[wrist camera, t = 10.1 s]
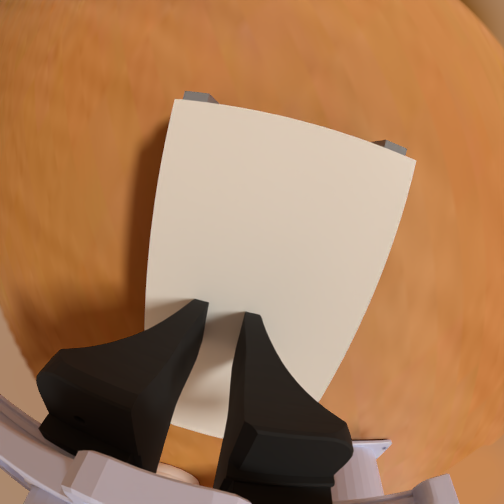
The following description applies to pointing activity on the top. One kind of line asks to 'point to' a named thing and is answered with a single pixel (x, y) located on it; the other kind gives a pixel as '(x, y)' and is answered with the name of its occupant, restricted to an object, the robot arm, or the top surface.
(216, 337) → the panel
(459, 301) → the top surface
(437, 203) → the top surface
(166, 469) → the bottle
